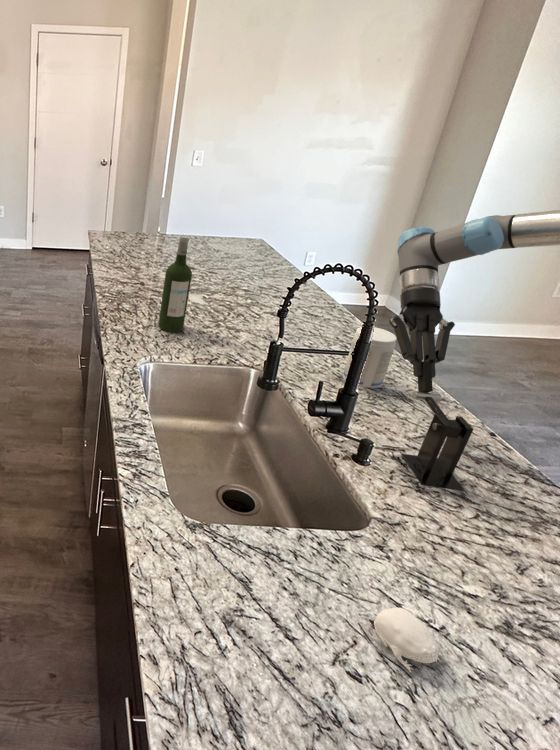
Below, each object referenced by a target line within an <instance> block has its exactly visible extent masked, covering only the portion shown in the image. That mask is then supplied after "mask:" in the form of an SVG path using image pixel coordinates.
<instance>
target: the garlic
mask: <svg viewBox="0 0 560 750" xmlns="http://www.w3.org/2000/svg"><path fill="white" fill-rule="evenodd" d="M373 626H374V629H375V633H376V634H377V636H378V637H379V638H380V640H381V641H382V642H383V643H384V646H385V647H386V648H389V649H390V650H391V651H392V653H393V656H394V657H395V659H396V660H397V661H398V662H399V663H400V664H401V665H403V666H404V667H405V668H406V669H407V670H408V671H409V673H412V671H414V668H412V666H413V665H412V664H410V663H408V660H411V661H414V662H417V663H423V664H431V663H434V662H436V663H438V661H439V662H440V663H442V660H441V659H440V658H439V651H440V647H439V644H438V643H437V641H436V639H435V636H434V635H433V633H432V632H431V631H430V629H429V628H428V627H426V626H425V624H424V623H423V621H421V620H420V619H419V618H418V617H416V615H414V614H413V613H412V612H410V611H409V610H406V609H405V608H402V607H391V608H386V609H384V610H382V611H380V612H379V613H378V614H376V617H375V620H374V622H373ZM402 657H403V658H405V659H406V660H404V659H403V658H402ZM407 659H408V660H407Z"/></svg>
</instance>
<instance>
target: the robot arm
mask: <svg viewBox="0 0 560 750" xmlns="http://www.w3.org/2000/svg"><path fill="white" fill-rule="evenodd" d="M552 246H553V247H554V246H560V209H558V210H557V209H556V210H547V211H545V210H544V211H537V212H536V211H535V212H528V213H527V212H526V213H517V214H507V215H500V214H498V215H497V214H495V215H487V216H485V217H482V218H476V219H473V220H470V221H469V220H468V221H467V222H463V223H462V224H461V223H460V224H458V225H455V226H452V227H449V228H446V229H442V230H439V231H436V232H435V230H434V229H432V228H430V227H426V226H419V227H412V228H409V229H407V230H405V231H403V232H402V233H400V235H399V237H398V240H397V252H396V253H397V256H398V267H399V268H398V269H399V291H400V296H399V298H400V311H399V314H398V315H395V316H393V317H391V318H390V319H389V320H388V323H389V324H390V326H391V327H392V328H393V331H394V333H395V334H394V335H395V336H396V338H397V339H396V341H397V343H398V346H399V349H400V352H401V356H402V359H403V360H404V361H409V363H410V364H411V365H412V372H413V373H412V374H413V376H414V377H415V378H417V391H418V392H427V393H432V392H434V390H433V389H434V388H433V387H434V385H433V379H434V378H435V377H436V376H437V374H436V364H439V363H441V362H443V361H444V360H445V359H446V356H447V355H446V354H447V349H448V345H449V341H450V335H451V331H452V330H453V328H454V327H455V326H456V323H455V321H448V320H446V319H444V315H443V314H442V312H441V293H440V278H439V277H440V276H439V266H442V265H446V264H448V263H452V262H453V263H454V262H457V261H461V260H465V259H468V258H473V257H476V256H483V255H485V254H489V253H491V252H495V251H498V250H507V249H517V248H519V249H520V248H535V247H537V248H538V247H552ZM406 326H407V327H408V329H407V327H406ZM437 326H438V330H439V331H438V333H437V336H436V337H435V333H436V327H437ZM435 338H436V339H435Z"/></svg>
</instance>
